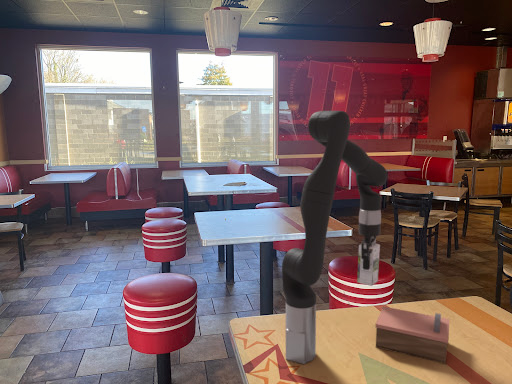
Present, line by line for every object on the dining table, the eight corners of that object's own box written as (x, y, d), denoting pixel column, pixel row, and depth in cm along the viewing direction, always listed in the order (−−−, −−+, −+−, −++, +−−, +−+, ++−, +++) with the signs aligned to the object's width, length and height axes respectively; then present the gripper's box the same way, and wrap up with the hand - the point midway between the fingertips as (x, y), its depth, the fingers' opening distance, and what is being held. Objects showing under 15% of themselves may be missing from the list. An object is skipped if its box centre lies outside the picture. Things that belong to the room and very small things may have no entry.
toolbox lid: (448, 343, 111) (449, 331, 110) (375, 327, 120) (375, 316, 120) (449, 322, 123) (449, 312, 122) (382, 309, 132) (383, 299, 132)
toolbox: (445, 363, 112) (447, 343, 111) (375, 346, 122) (376, 328, 120) (446, 342, 124) (448, 323, 123) (382, 328, 133) (383, 310, 132)
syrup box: (363, 278, 144) (364, 240, 141) (378, 281, 140) (380, 243, 138) (356, 282, 139) (358, 244, 137) (372, 286, 136) (373, 247, 133)
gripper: (363, 216, 144) (362, 258, 147) (354, 224, 131) (353, 271, 134) (384, 218, 141) (382, 261, 143) (376, 227, 128) (374, 274, 131)
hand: (368, 266), depth 139 cm, fingers closed on syrup box, 6 cm apart
